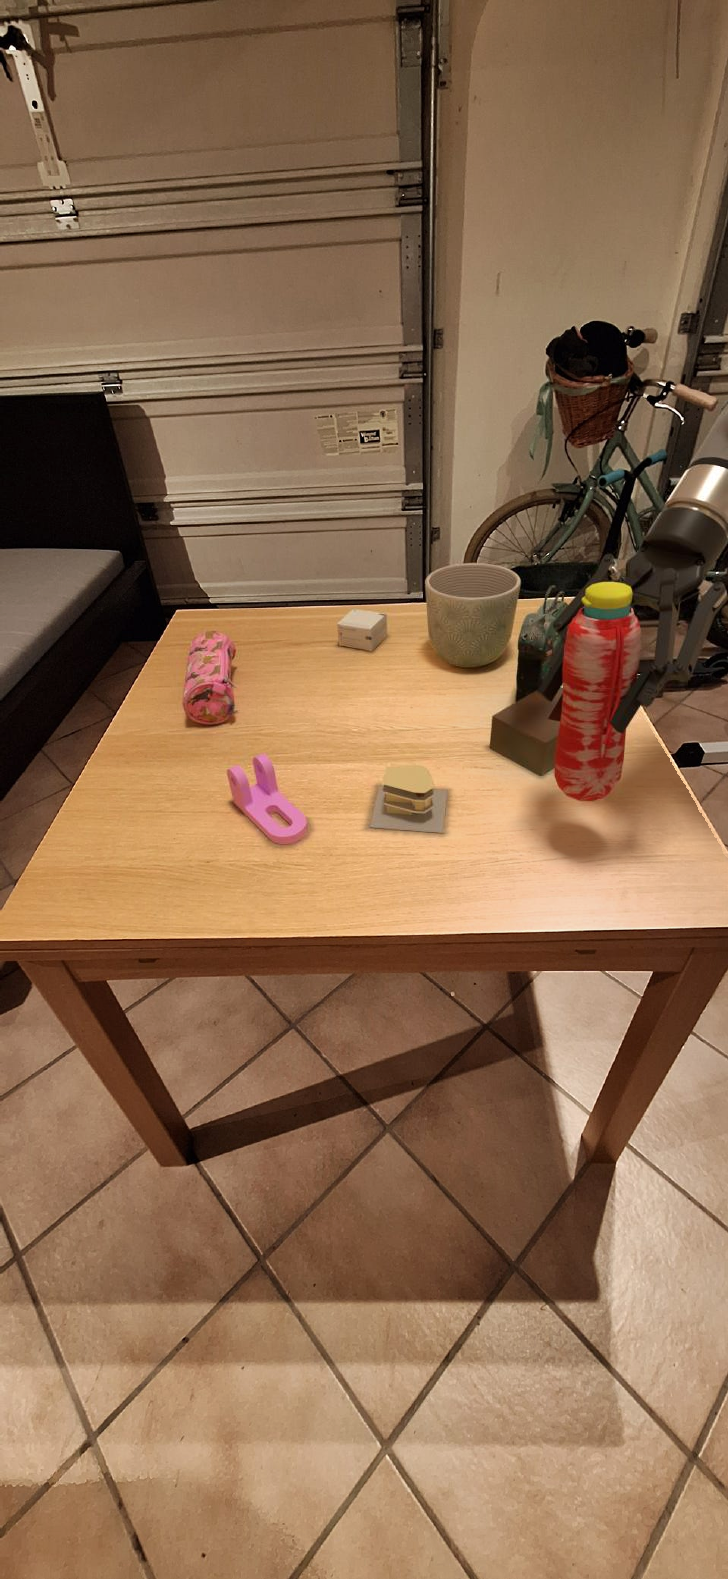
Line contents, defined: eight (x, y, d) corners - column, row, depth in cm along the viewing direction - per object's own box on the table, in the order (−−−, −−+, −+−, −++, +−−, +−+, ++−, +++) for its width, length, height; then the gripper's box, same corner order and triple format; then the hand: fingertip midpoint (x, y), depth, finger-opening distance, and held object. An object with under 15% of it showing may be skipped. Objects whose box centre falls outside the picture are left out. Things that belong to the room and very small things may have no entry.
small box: (337, 646, 129) (335, 622, 126) (355, 630, 135) (353, 607, 131) (372, 652, 126) (371, 628, 123) (388, 636, 132) (387, 612, 128)
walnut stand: (597, 738, 100) (604, 705, 96) (541, 776, 93) (546, 743, 89) (545, 713, 106) (550, 682, 102) (489, 748, 99) (492, 715, 95)
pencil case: (242, 724, 109) (232, 678, 103) (187, 731, 108) (175, 685, 102) (240, 665, 125) (231, 623, 119) (192, 672, 124) (182, 630, 118)
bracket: (234, 802, 92) (224, 764, 88) (266, 786, 95) (259, 749, 90) (280, 850, 84) (273, 811, 80) (315, 831, 86) (309, 792, 82)
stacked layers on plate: (369, 827, 86) (367, 796, 83) (379, 786, 93) (377, 756, 90) (442, 833, 85) (443, 802, 81) (447, 791, 92) (448, 760, 88)
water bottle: (535, 757, 83) (546, 567, 68) (596, 751, 83) (621, 557, 68) (561, 815, 73) (581, 608, 58) (630, 808, 73) (669, 597, 58)
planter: (417, 674, 118) (417, 596, 109) (431, 634, 131) (432, 561, 121) (510, 681, 115) (518, 600, 105) (515, 639, 127) (523, 564, 118)
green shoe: (537, 725, 103) (554, 608, 91) (499, 716, 106) (510, 601, 93) (569, 670, 117) (587, 561, 104) (534, 663, 119) (548, 557, 106)
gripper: (804, 567, 63) (677, 762, 65) (614, 525, 76) (515, 689, 79) (800, 524, 57) (662, 741, 60) (596, 487, 70) (490, 666, 73)
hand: (579, 711), depth 69 cm, fingers closed on water bottle, 8 cm apart
